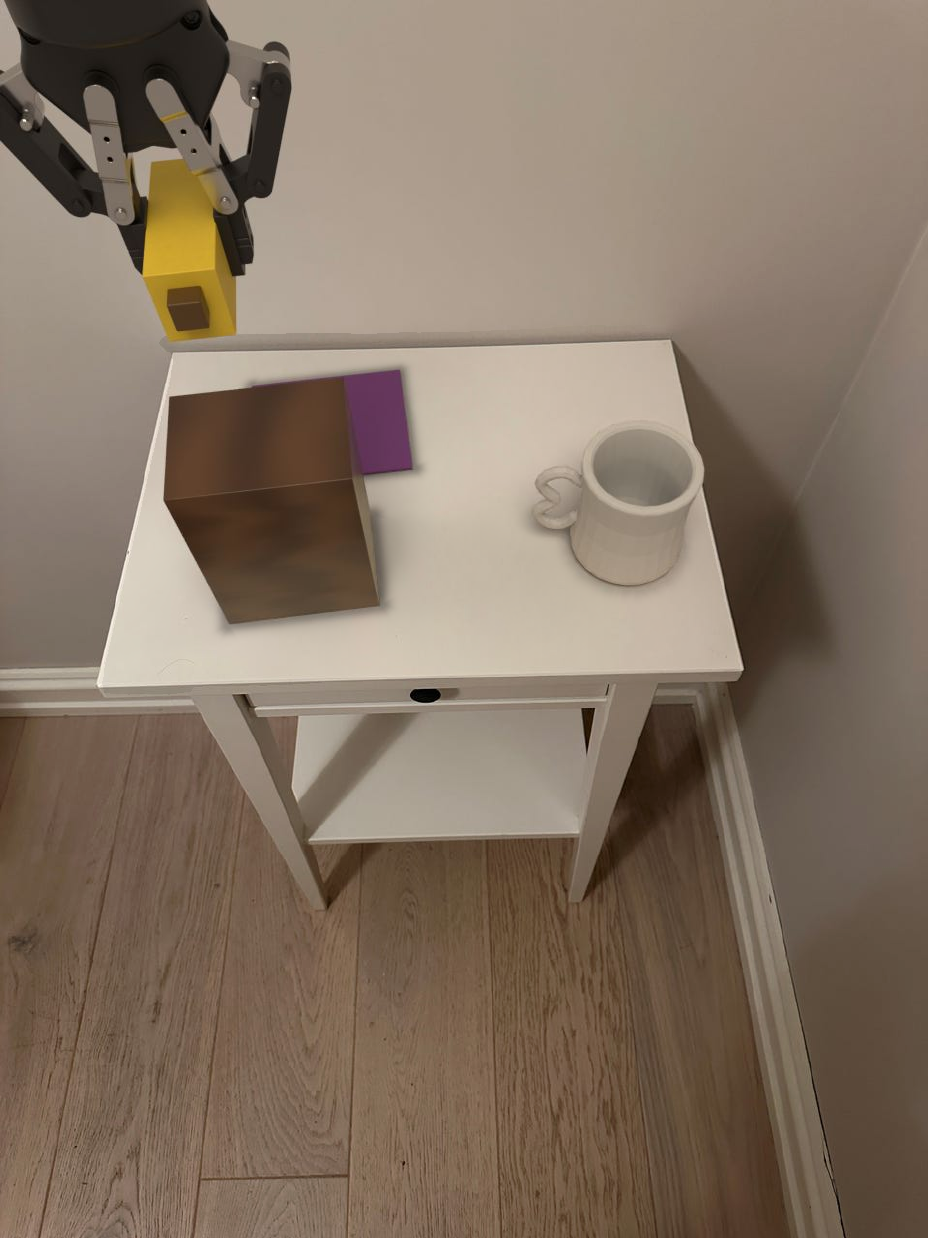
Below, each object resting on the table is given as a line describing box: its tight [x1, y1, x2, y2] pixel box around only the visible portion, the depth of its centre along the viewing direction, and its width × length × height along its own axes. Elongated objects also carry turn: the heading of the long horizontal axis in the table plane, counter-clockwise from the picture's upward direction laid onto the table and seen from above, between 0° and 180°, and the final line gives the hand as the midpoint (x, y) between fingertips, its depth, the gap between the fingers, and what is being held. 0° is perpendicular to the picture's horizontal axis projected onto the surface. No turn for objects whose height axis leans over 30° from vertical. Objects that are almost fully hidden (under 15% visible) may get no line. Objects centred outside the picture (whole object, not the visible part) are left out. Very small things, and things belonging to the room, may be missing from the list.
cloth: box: [251, 368, 414, 476], centre depth 78 cm, size 14×12×1 cm
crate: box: [162, 377, 380, 625], centre depth 64 cm, size 12×9×16 cm
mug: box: [531, 419, 706, 586], centre depth 67 cm, size 12×9×10 cm
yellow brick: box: [141, 158, 237, 343], centre depth 44 cm, size 11×3×4 cm, turn 8°
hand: (199, 268), depth 45 cm, fingers closed on yellow brick, 3 cm apart
